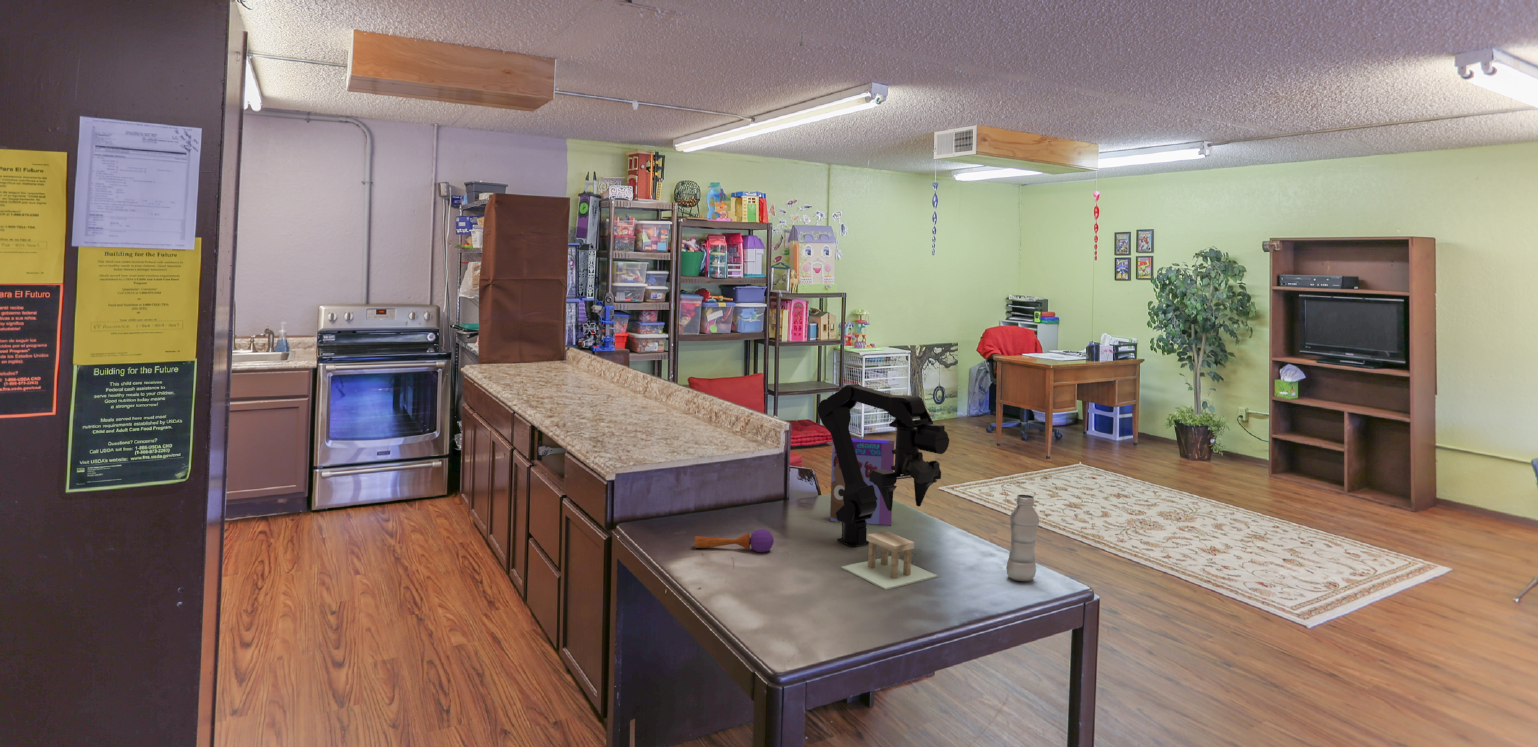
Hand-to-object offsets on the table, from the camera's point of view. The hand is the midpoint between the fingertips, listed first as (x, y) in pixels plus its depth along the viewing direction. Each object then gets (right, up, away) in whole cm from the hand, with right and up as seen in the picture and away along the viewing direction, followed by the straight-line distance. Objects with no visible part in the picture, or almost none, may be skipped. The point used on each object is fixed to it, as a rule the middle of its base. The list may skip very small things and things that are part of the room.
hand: (904, 508), depth 200 cm
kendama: (-43, -12, +5) cm, 45 cm away
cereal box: (-7, -9, +32) cm, 34 cm away
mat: (-5, -14, -9) cm, 17 cm away
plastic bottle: (+25, -15, -12) cm, 32 cm away
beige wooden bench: (-5, -13, -9) cm, 17 cm away
